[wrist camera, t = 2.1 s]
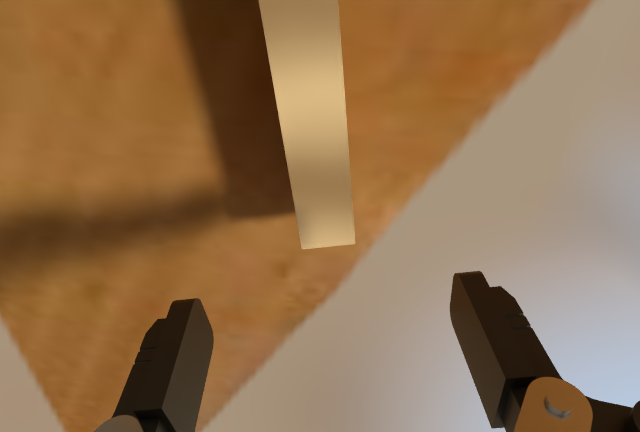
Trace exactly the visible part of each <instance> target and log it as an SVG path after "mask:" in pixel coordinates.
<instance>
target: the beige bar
mask: <svg viewBox="0 0 640 432" xmlns="http://www.w3.org/2000/svg"><path fill="white" fill-rule="evenodd" d="M259 6H260V11H261V17H262V23H263V28H264V34H265V40H266V46H267V51H268V57H269V63H270V69H271V74H272V80H273V86H274V91H275V97H276V103H277V109H278V114H279V120H280V126H281V132H282V137H283V143H284V149H285V154H286V160H287V166H288V172H289V177H290V183H291V189H292V195H293V200H294V206H295V212H296V218H297V223H298V229H299V235H300V240H301V246H302V249H310V248H320V247H329V246H339V245H349V244H355V233H354V219H353V205H352V191H351V176H350V162H349V148H348V134H347V120H346V106H345V92H344V78H343V64H342V50H341V36H340V22H339V8H338V0H259Z"/></svg>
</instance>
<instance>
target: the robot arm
mask: <svg viewBox="0 0 640 432" xmlns="http://www.w3.org/2000/svg"><path fill="white" fill-rule="evenodd" d="M450 316H451V321H452V325H453V328H454V330H455V333H456V336H457V338H458V341H459V344H460V346H461V349H462V351H463V354H464V356H465V359H466V362H467V365H468V367H469V370H470V372H471V375H472V378H473V380H474V383H475V386H476V388H477V391H478V393H479V396H480V399H481V401H482V404H483V407H484V409H485V412H486V414H487V417H488V420H489V422H490V425H491V428H503V427H505V430H506V432H640V401H638V402H637V403H636V404H635V406H634V407H633V408H631V407H627V406H622V405H617V404H612V403H607V402H603V401H598V400H594V399H591V398H589V397H587V396H585V395H584V394H583V393H582V392H581V391H580V390H578V389H577V388H576V387H575V386H573V385H572V384H570V383H568V382H566V381H564V380H563V379H562V378H561V377H560V375H559V373H558V372H557V370H556V369H555V367H554V365H553V363H552V362H551V360H550V358H549V356H548V355H547V353H546V351H545V350H544V348H543V346H542V344H541V343H540V341H539V339H538V337H537V336H536V334H535V332H534V331H533V329H532V328H531V327H530V324H529V322H528V320H527V318H526V317H525V316H524V315H523V312H522V310H521V308H520V306H519V305H518V303H517V301H516V300H515V298H514V297H513V296H511V295H510V294H509V293H508V292H507V291H505V290H504V289H503V288H502V287H501V286H498V287H489V285H488V283H487V281H486V279H485V277H484V275H483V274H482V272H480V271H474V272H465V273H455V274H454V277H453V284H452V293H451V302H450ZM212 350H213V331H212V328H211V325H210V323H209V320H208V318H207V315H206V313H205V310H204V308H203V305H202V303H201V301H200V299H198V298H196V299H186V300H176V301H173V302H172V304H171V306H170V309H169V312H168V315H167V318H165V319H157V321H156V322H155V323H154V324H153V325H152V327H151V328H150V329H149V330H148V331H147V333H146V334H145V337H144V339H143V342H142V344H141V347H140V352H138V354H137V357H136V359H135V365H133V367H132V370H131V372H130V375H129V377H128V380H127V382H126V385H125V387H124V390H123V392H122V395H121V397H120V400H119V402H118V405H117V407H116V410H115V412H114V414H113V416H112V418H111V419H109V420H107V421H106V422H104V423H103V424H101V425H100V426H99V427H98V428H97V429H96V430H95V431H94V432H195V427H196V422H197V418H198V413H199V409H200V404H201V400H202V395H203V391H204V386H205V382H206V377H207V373H208V368H209V364H210V359H211V355H212Z"/></svg>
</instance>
